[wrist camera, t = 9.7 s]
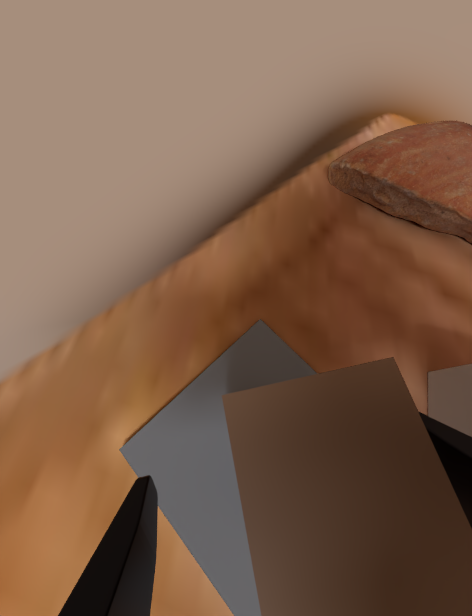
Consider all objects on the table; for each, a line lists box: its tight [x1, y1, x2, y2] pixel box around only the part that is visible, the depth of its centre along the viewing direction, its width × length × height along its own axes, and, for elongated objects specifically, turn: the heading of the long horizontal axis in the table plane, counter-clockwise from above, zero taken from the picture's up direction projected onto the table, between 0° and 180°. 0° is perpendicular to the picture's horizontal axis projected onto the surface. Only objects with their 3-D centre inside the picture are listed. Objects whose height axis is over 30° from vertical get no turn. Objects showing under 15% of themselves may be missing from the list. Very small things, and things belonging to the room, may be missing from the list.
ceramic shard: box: [328, 121, 472, 244], centre depth 22 cm, size 15×6×15 cm
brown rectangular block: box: [222, 357, 472, 616], centre depth 9 cm, size 6×4×12 cm, turn 12°
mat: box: [119, 319, 317, 616], centre depth 15 cm, size 12×12×1 cm
